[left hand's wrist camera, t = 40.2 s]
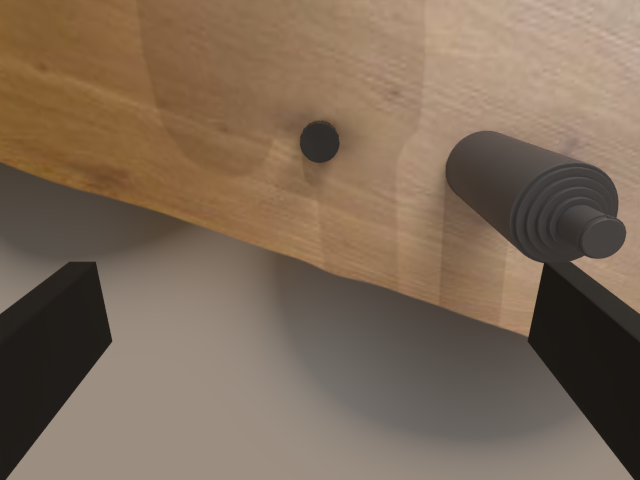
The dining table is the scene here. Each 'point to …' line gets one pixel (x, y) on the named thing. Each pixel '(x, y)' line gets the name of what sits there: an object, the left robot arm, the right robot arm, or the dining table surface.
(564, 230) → the bottle
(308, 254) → the dining table surface
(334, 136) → the cap
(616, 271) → the dining table surface
